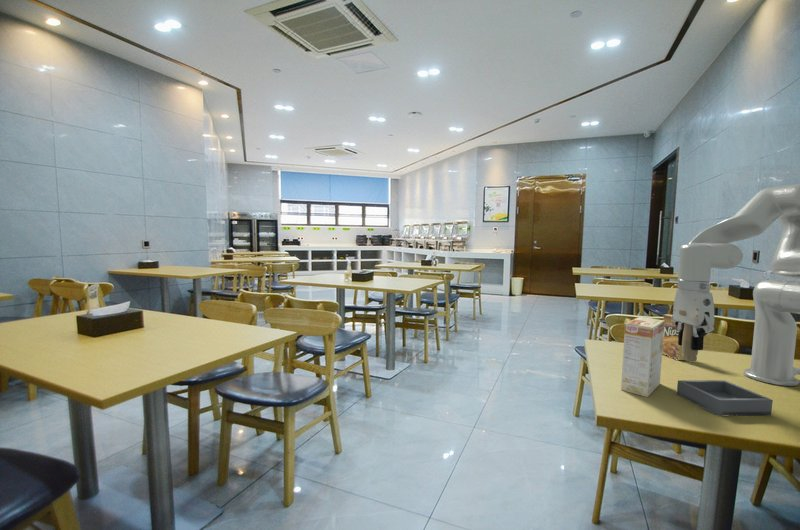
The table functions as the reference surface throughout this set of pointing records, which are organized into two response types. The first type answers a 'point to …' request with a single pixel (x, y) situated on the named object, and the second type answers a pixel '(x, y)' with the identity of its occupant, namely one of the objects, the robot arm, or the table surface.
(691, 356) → the handle
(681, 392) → the tray
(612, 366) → the table surface
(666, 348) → the candy box
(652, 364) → the coffeecake box
